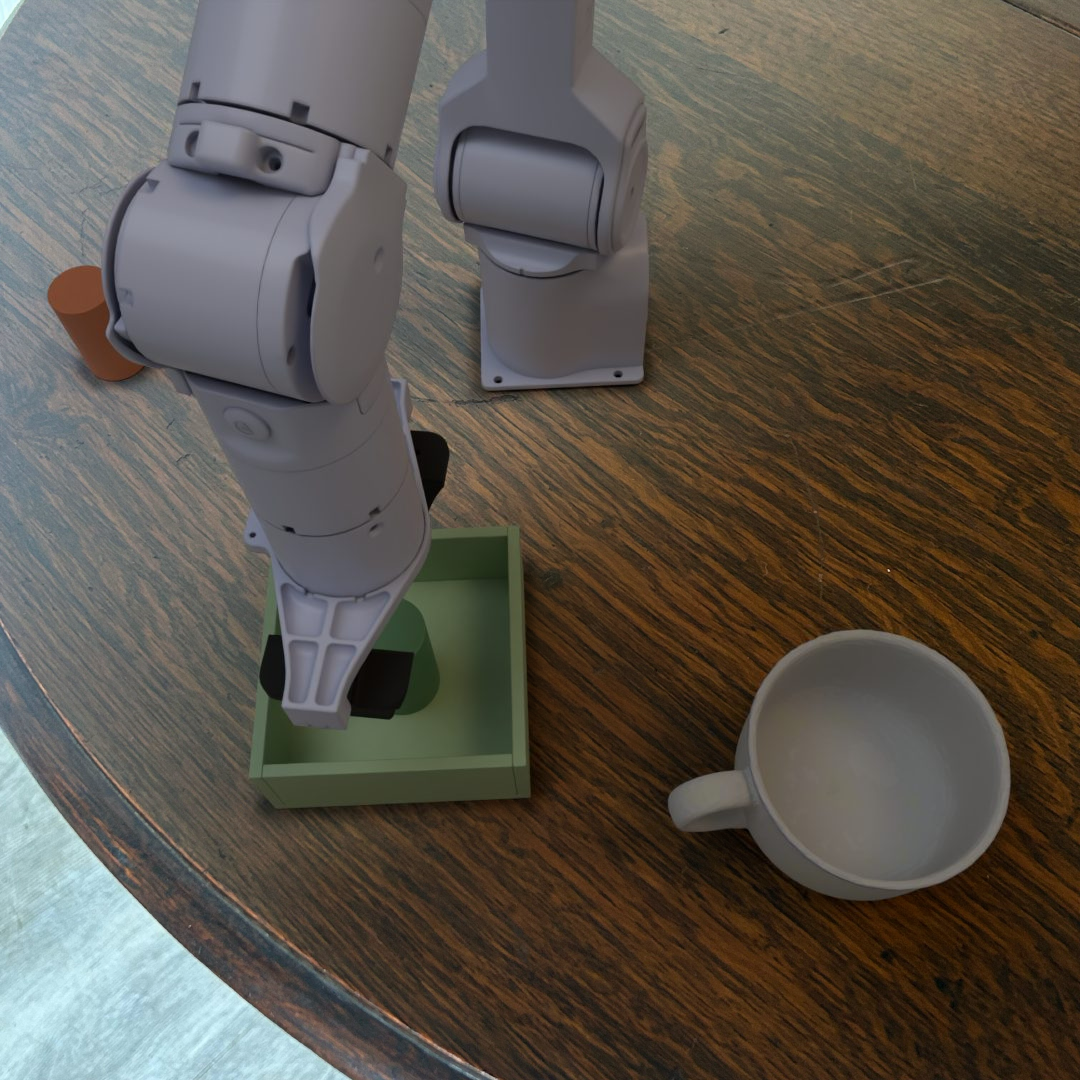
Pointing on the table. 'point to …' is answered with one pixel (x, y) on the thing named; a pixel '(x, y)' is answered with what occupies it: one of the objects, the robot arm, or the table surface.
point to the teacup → (861, 769)
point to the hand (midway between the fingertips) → (386, 630)
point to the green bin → (447, 721)
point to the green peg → (412, 636)
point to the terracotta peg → (88, 321)
